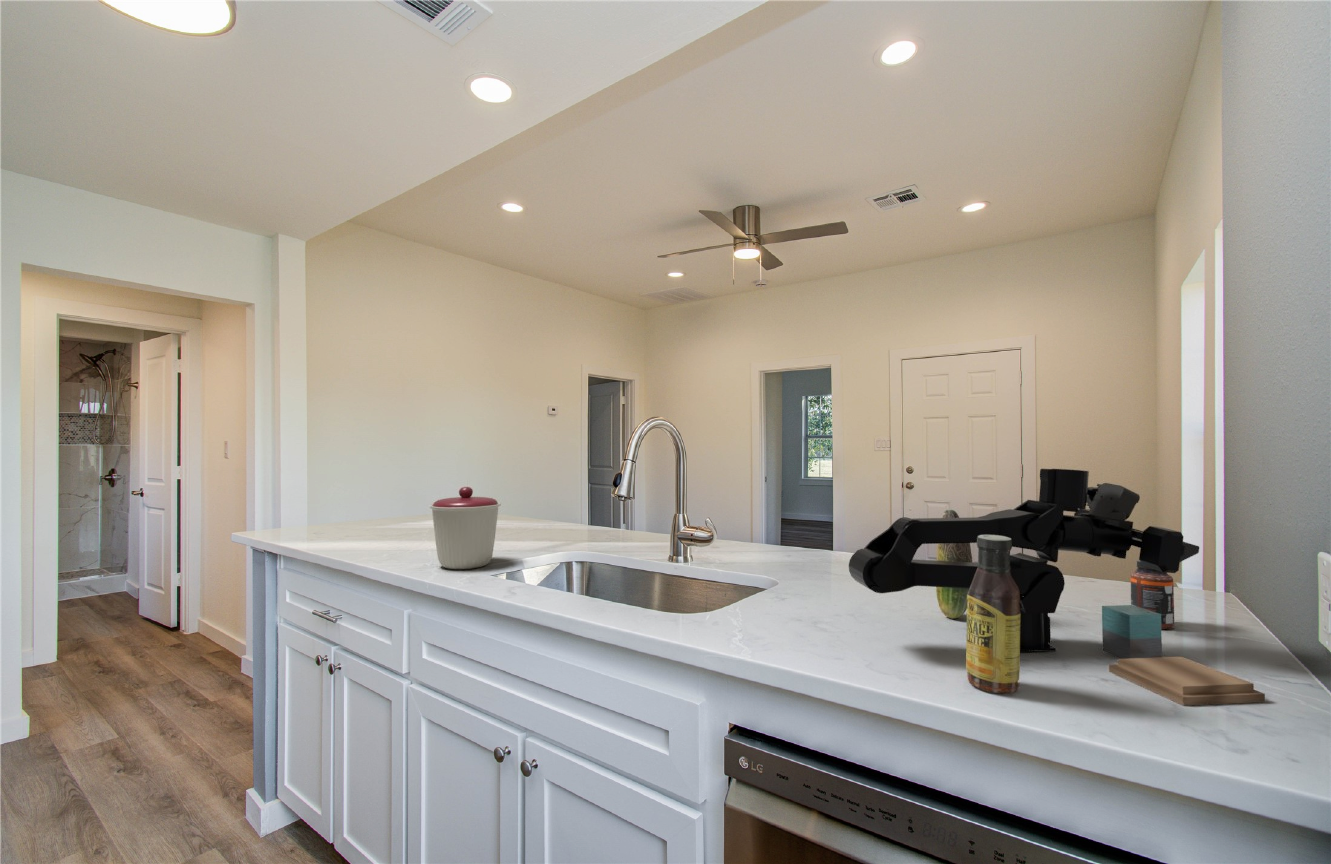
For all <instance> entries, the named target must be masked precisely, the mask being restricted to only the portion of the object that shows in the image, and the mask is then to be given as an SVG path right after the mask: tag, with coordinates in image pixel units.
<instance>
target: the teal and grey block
mask: <svg viewBox="0 0 1331 864" xmlns="http://www.w3.org/2000/svg"><path fill="white" fill-rule="evenodd" d="M1101 623H1102V625H1101V627H1102V628H1101V629H1102V633H1101V634H1102V636H1101V637H1102V652H1103V651H1104V653H1106V654H1109V655H1110V656H1113V657H1115V656H1116V658H1117V659H1131V658H1158V657H1163V647H1162V645H1163V643H1162V639H1163V638H1162V629H1161V614H1159V613H1156V612H1153V611H1149V610H1146V609H1143V608H1140V607H1136V606H1133V605H1131V604H1124V605H1123V604H1122V605H1121V604H1120V605H1119V604H1118V605H1102V606H1101Z"/></svg>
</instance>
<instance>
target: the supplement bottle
mask: <svg viewBox="0 0 1331 864" xmlns="http://www.w3.org/2000/svg"><path fill="white" fill-rule="evenodd" d="M1136 567H1137V568H1136V569H1135V570H1134V571H1132V572H1131V573H1130V581H1129V582H1130V605H1133V606H1136V607H1140V608H1143V609H1146V610H1149V611H1153V612H1156V613H1159V614H1161V630H1170V629H1172V628H1174V627H1175V592H1174V591H1175V590H1174V588H1175V586H1174V579H1173V576H1171V574H1169V573H1166V572H1161V571H1158V570H1155V569H1152V568H1149V567H1146V566H1143V564H1142V563H1141V562H1140V560H1139V559H1137V560H1136Z"/></svg>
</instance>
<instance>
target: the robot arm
mask: <svg viewBox="0 0 1331 864" xmlns="http://www.w3.org/2000/svg"><path fill="white" fill-rule="evenodd" d="M1089 475H1090V471H1089V470H1083V469H1082V470H1080V469H1066V468H1064V469H1063V468H1041V469H1040V470H1039V479H1040V482H1039V483H1040V484H1039V495H1038V496H1039V497H1038V500H1034V499H1027V500H1026V501H1024V502H1022V503H1021V504H1019V505H1018V506H1016V507H1015V508H1013V509H1012V508H1009V509H1003V510H998V511H993V512H990V513H987V514H986V515H982V516H977V517H975V516H974V517H959V518H942V517H936V518H935V517H926V518H925V517H923V518H921V517H919V518H910V517H907V516H906V517H905V516H902V517H900V518H897V519H896V520H895V521H894V522H892V524H891V525H890V526H889V527H887V529H886V530H884V531H883V532H882V533H880V534H878V535H877V536H876V537H874V538H873V539H872V540H870V541H869V543H867V544H866V546H865V547H864V548H859V549H857V550H856V551H855V552H854V553H853V554H852V555H851V557H850V559H849V562H848V571H849V574H850V576H851V577H852V579H853V580H854V581H856V582H857V583H859V584H860V585H862V586H864V587H866V588H867V589H869V590H870V591H872V592H874V593H876V594H889V593H897V592H904V591H905V590H908V589H910V588H914V587H928V588H929V587H931V588H934V587H935V588H936V587H948V588H967V589H970V586H971V583H972V581H973V578H974V575H975V573H976V570H977V568H978V566H977V565H978V562H973V561H972V562H973V563H972V562H954V561H937V560H931V559H914V557H915V556H916V554H917V551H918V549H919V548H920V547H921V546H922V545H928V544H929V545H931V544H937V545H938V544H942V543H970V544H977V537H978V536H979V535H999V536H1005V537H1009V538H1011V539H1012V548H1018V549H1024V550H1031V551H1034V552H1036V555H1037V556H1038V557H1036V556H1032V555H1029V554H1025V553H1022V552H1018V553H1015V554H1013V553H1012V554H1010V567H1011V569H1010V573H1011V576H1012V579H1013V580H1014V582H1015V583H1016V585H1017V587H1018V589H1019V593H1020V602H1019V604H1020V608H1019V611H1020V653H1021V652H1022V653H1025V652H1027V653H1028V652H1050V651H1051V652H1053V651H1054V652H1056V651H1057V647H1056V646H1054V645H1052V644H1051V643H1052V640H1051V637H1052V636H1051V633H1052V632H1051V617H1050V616H1049V614H1055V613H1056V611H1057V607H1058V605H1059V602H1060V597H1061V595H1062V593H1063V591H1064V589H1065V584H1066V582H1065V577H1064V574H1063V572H1062V571H1061V570H1060V568H1059V567H1057V566H1055V565H1052V564H1050V563H1049V562H1052V563H1057V562H1058V559H1059V551H1065V552H1076V553H1085V554H1088V555H1091V556H1093V557H1102V555H1109V556H1111V557H1115V558H1118V559H1124V560H1125V559H1126V558H1127V553H1128V552H1129V551H1130V550H1131V547H1137V548H1140V551H1139V556H1138V560H1140V562H1141V563H1142V564H1143V566H1146V567H1149V568H1152V569H1155V570H1158V571H1161V572H1166V573H1167V574H1176V573H1177V572H1179V571H1180V564H1181V563H1182V562H1183V561H1186V560H1187V559H1189V558H1191V557H1194V556H1196V555H1198V554H1199V552H1200V546H1199V545H1196V544H1192V543H1189V542H1185V541H1184V535H1183V534H1182V532H1181V531H1178V530H1173V529H1169V528H1167V527H1160V526H1153V525H1152V526H1151V525H1149V526H1148V527H1147V528H1145V529H1144V530H1139V529H1137V528H1134V527H1133V526H1134V521H1131V520H1127V519H1129V518H1130V516H1131V515H1132V512H1133V510H1134V509H1135V506H1136V505H1137V504H1138V503H1139V501H1140V499H1141V498H1140V497H1141V496H1140V494H1139V493H1136V492H1135V491H1133V490H1131V489H1128V488H1126V486H1122V485H1120V484H1119V485H1118V484H1114V483H1108V482H1104V483H1101V484H1100V483H1097V484H1096V486H1089ZM1087 506H1088V508H1086V507H1087ZM1064 512H1070V513H1073V515H1068V514H1065V513H1064ZM1048 563H1049V564H1048Z"/></svg>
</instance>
